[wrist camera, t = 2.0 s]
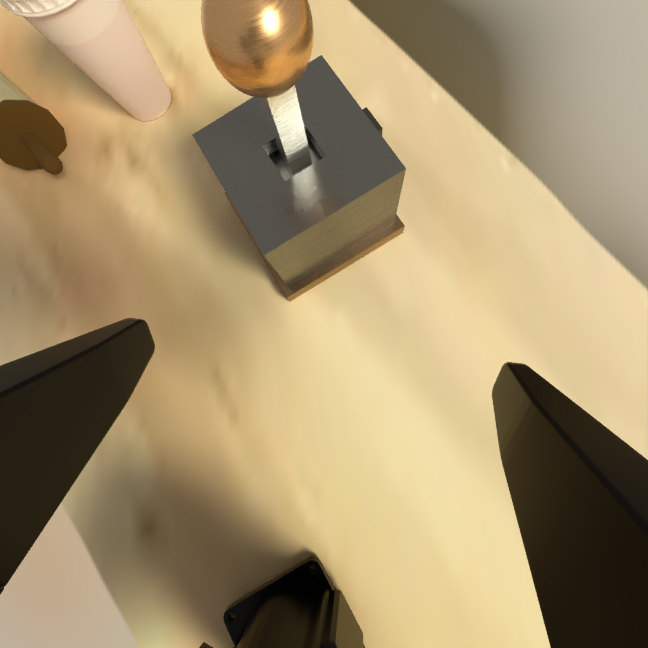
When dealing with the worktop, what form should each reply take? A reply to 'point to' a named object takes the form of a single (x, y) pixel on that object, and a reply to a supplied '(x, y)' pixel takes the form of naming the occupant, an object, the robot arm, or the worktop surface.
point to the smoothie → (102, 49)
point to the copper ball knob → (266, 65)
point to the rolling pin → (28, 131)
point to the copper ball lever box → (309, 182)
